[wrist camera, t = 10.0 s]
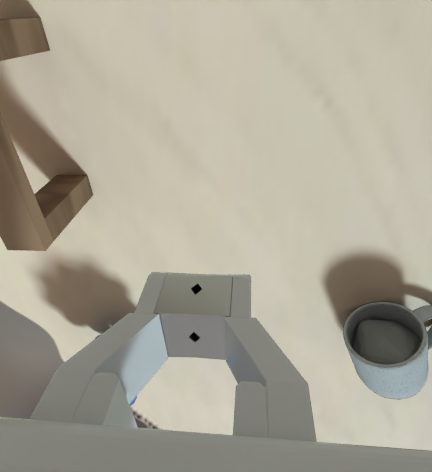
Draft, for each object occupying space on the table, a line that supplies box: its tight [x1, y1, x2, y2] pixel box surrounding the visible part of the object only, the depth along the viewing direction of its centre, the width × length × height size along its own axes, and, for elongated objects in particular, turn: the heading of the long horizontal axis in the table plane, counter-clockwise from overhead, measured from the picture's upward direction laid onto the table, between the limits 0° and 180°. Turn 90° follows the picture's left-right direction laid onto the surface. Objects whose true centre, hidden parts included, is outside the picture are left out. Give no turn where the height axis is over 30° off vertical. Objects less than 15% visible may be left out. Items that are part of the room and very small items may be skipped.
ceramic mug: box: [343, 302, 432, 399], centre depth 34 cm, size 11×8×8 cm
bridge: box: [0, 18, 93, 251], centre depth 23 cm, size 3×14×9 cm, turn 3°
